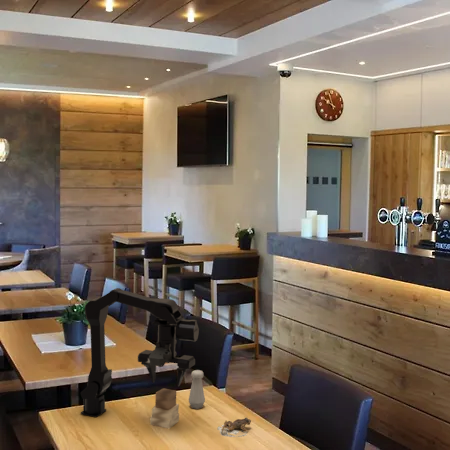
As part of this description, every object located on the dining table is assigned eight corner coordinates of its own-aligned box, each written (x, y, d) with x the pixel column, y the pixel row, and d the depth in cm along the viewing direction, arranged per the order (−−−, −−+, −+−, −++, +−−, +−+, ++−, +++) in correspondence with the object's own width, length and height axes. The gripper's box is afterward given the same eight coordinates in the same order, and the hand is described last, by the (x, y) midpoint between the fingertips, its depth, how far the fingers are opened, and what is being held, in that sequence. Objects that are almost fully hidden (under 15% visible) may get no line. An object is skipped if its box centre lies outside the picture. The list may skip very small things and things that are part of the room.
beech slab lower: (150, 425, 201) (150, 417, 201) (160, 418, 208) (160, 409, 208) (169, 429, 199) (169, 420, 198) (178, 422, 205) (179, 413, 205)
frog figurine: (247, 422, 207) (247, 411, 207) (256, 437, 195) (256, 425, 195) (214, 424, 204) (214, 413, 204) (221, 439, 193) (221, 427, 192)
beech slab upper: (151, 418, 200) (151, 409, 200) (158, 410, 207) (159, 401, 207) (171, 420, 199) (172, 411, 199) (178, 412, 206) (178, 403, 205)
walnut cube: (155, 407, 202) (155, 392, 201) (163, 402, 206) (163, 388, 206) (168, 410, 200) (168, 395, 199) (176, 405, 204) (176, 390, 204)
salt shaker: (202, 410, 215) (203, 374, 214) (186, 408, 216) (187, 372, 215) (206, 404, 220) (207, 369, 219) (191, 402, 221) (191, 367, 220)
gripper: (129, 340, 197) (128, 387, 198) (182, 348, 191) (181, 396, 192) (146, 332, 208) (145, 377, 209) (196, 339, 201) (195, 385, 202)
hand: (165, 384), depth 203 cm, fingers open, 9 cm apart
